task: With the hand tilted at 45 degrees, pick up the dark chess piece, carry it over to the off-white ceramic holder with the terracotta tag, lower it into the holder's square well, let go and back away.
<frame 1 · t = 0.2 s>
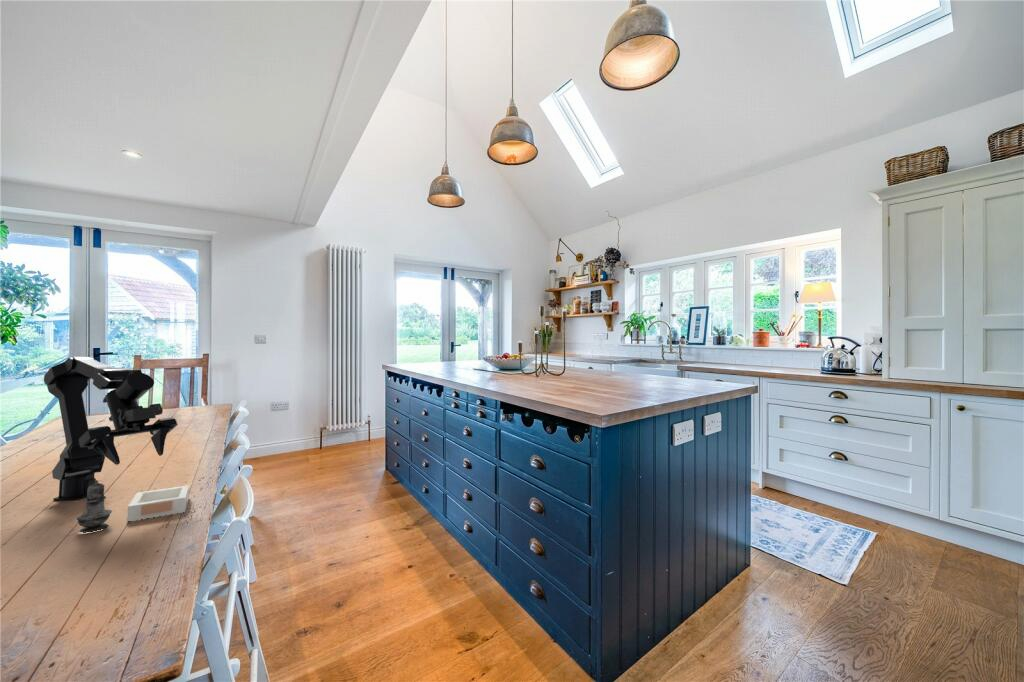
hand: (140, 459, 102), 15 cm above the table, tool tilted 35°, fingers open, 9 cm apart
dark chess piece: (93, 530, 93), on the table
tagged holder: (160, 509, 104), on the table
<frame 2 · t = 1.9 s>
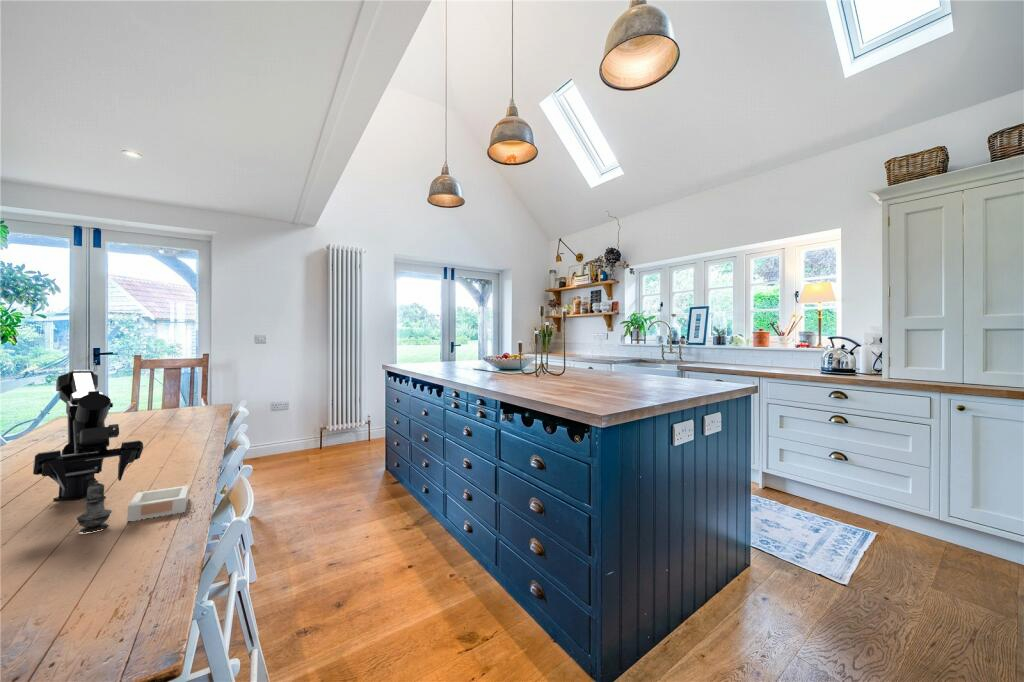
hand: (93, 484, 95), 10 cm above the table, tool tilted 45°, fingers open, 9 cm apart
nothing on the table moved.
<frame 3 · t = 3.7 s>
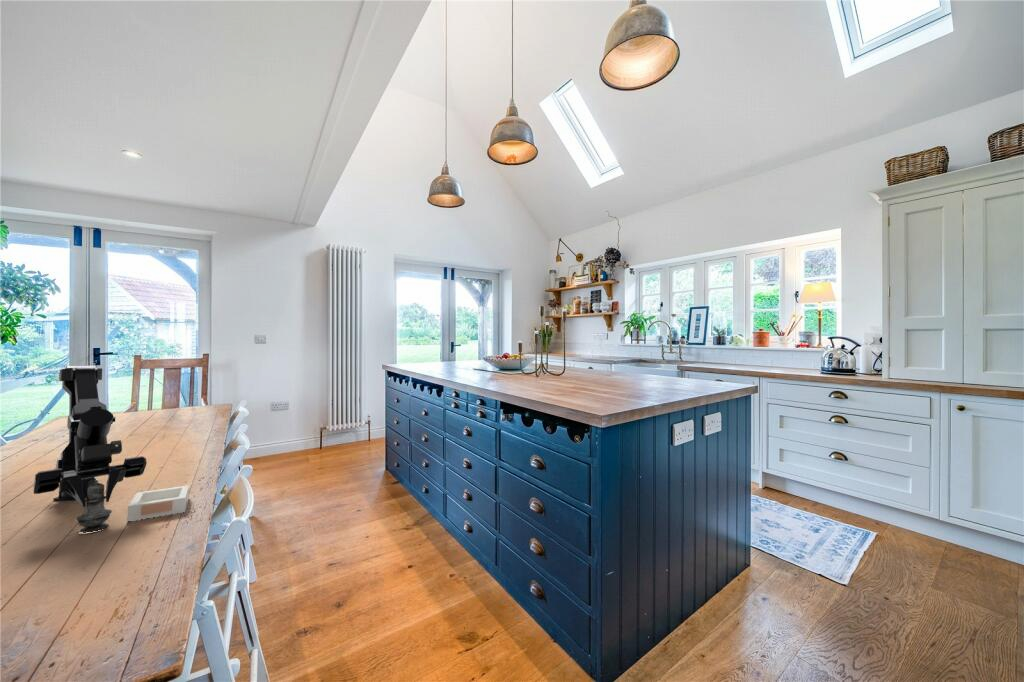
hand: (96, 503, 92), 7 cm above the table, tool tilted 45°, fingers closed on dark chess piece, 4 cm apart
dark chess piece: (93, 530, 93), on the table, touching gripper
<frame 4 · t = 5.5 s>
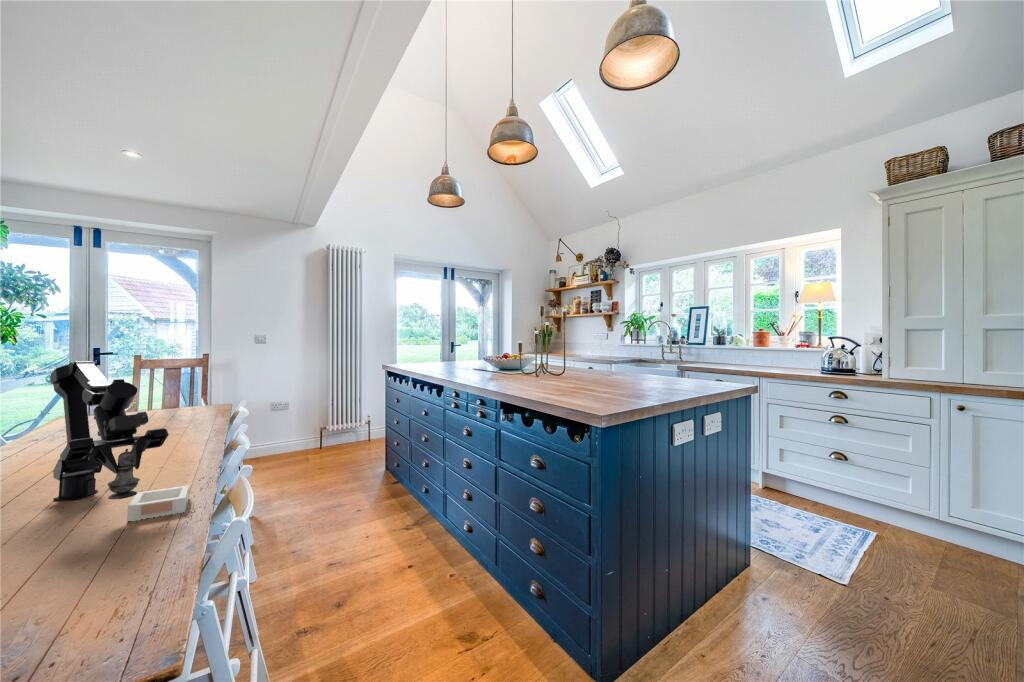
hand: (127, 470, 97), 13 cm above the table, tool tilted 45°, fingers closed on dark chess piece, 4 cm apart
dark chess piece: (122, 496, 97), point 6 cm above the table, touching gripper
when the fingers open (9 cm above the table, at t = 7.5 s): dark chess piece drops 1 cm, resting on tagged holder.
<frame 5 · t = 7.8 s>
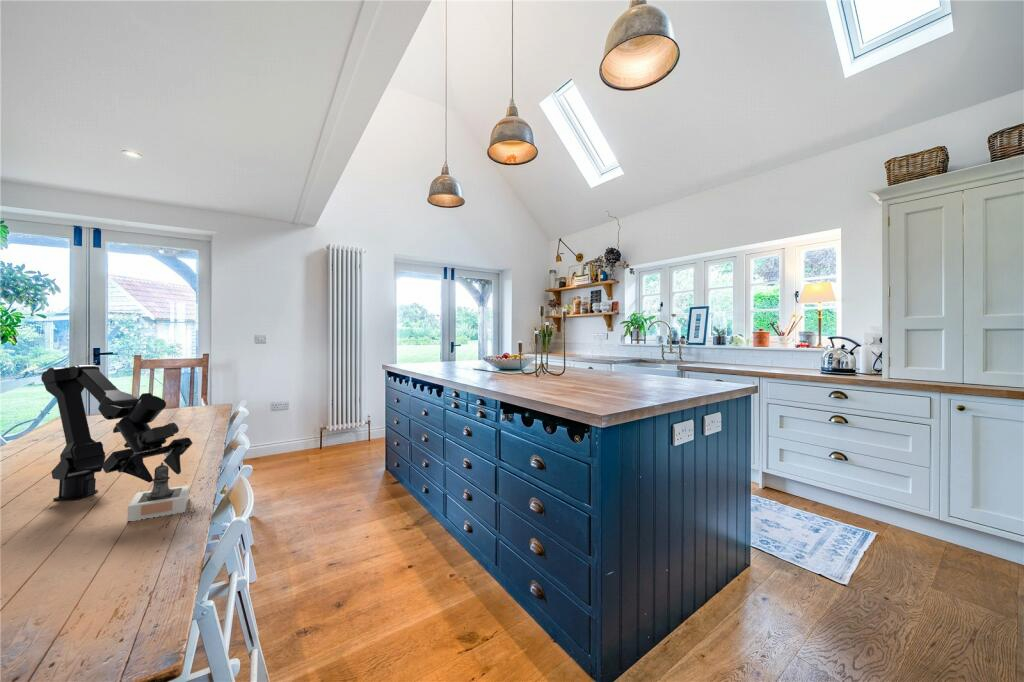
hand: (165, 477, 104), 9 cm above the table, tool tilted 45°, fingers open, 7 cm apart
dark chess piece: (159, 506, 104), point 1 cm above the table, touching tagged holder
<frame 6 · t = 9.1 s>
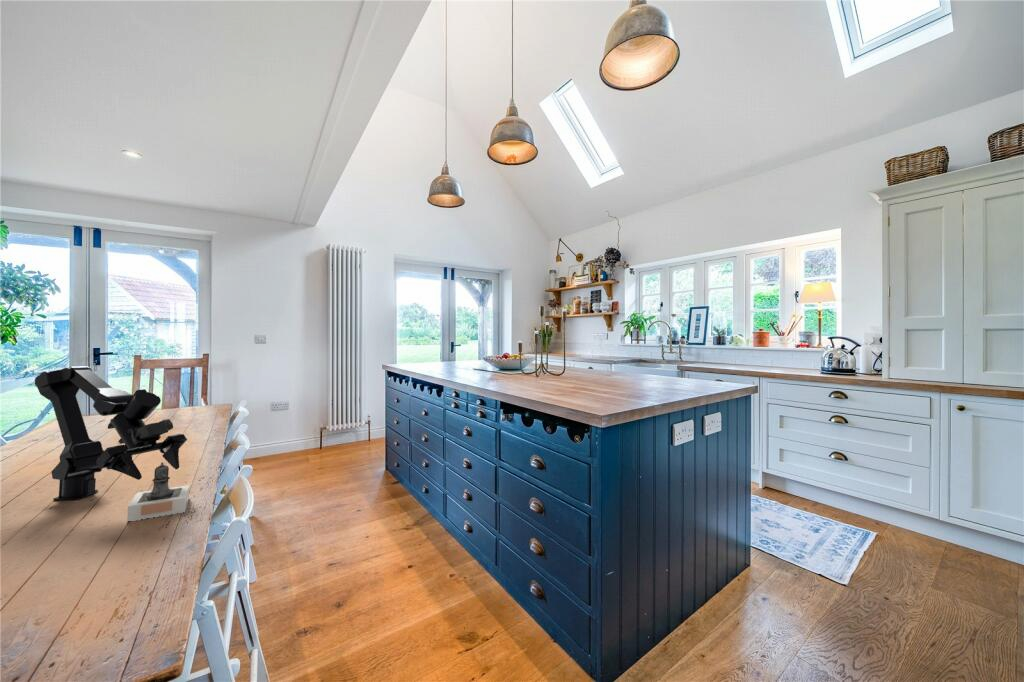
hand: (159, 473, 105), 10 cm above the table, tool tilted 45°, fingers open, 9 cm apart
nothing on the table moved.
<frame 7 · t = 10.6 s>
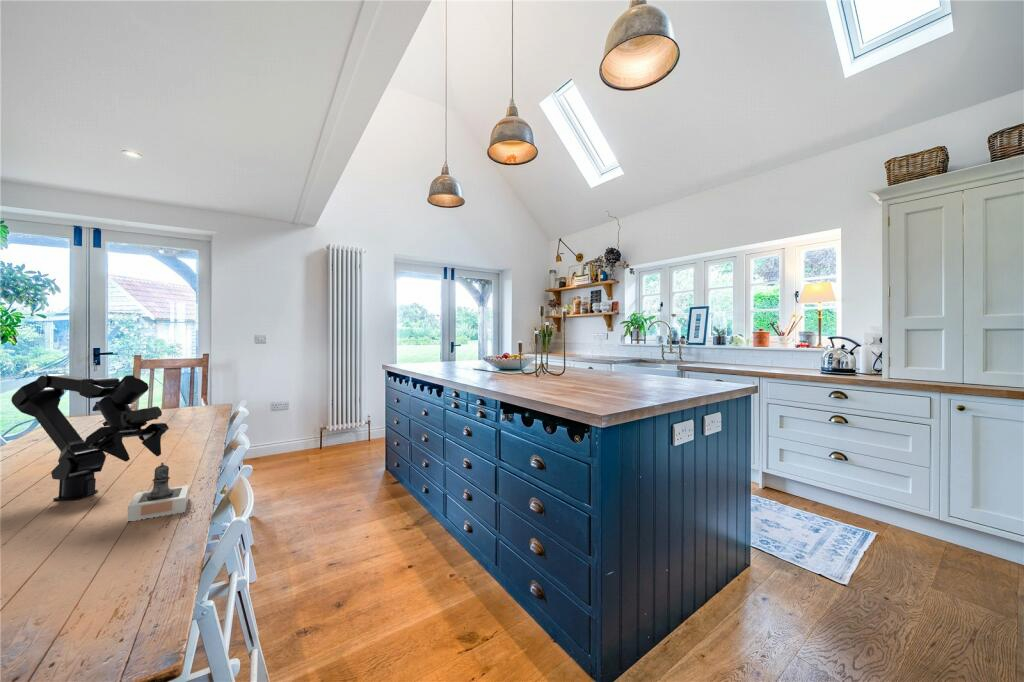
hand: (144, 457, 108), 13 cm above the table, tool tilted 40°, fingers open, 9 cm apart
nothing on the table moved.
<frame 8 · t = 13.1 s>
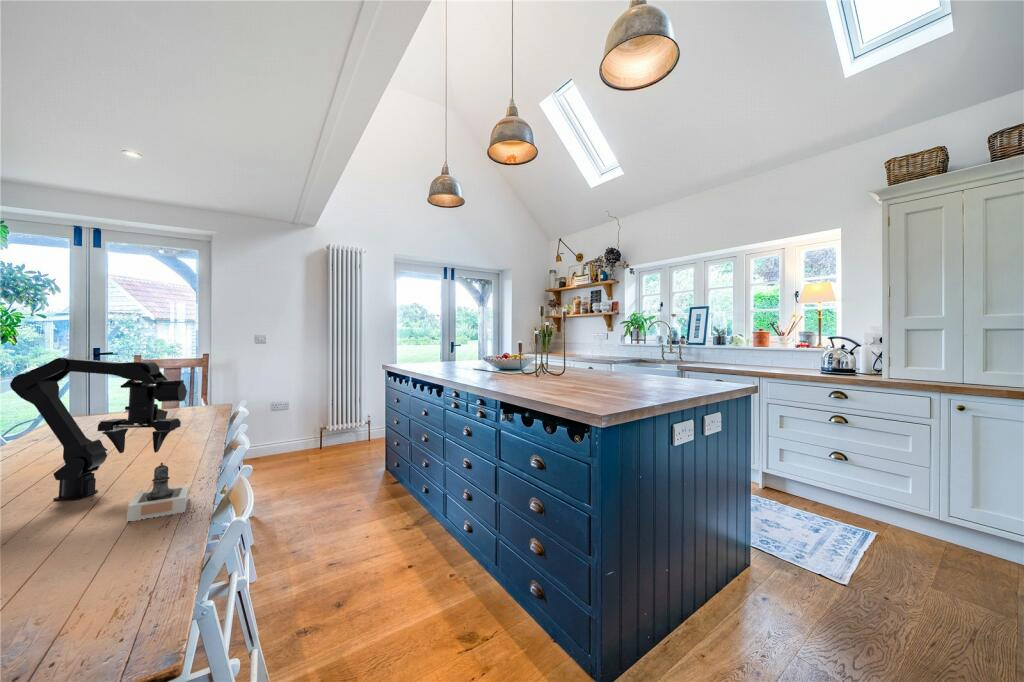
hand: (139, 452, 117), 12 cm above the table, tool pointing down, fingers open, 9 cm apart
nothing on the table moved.
at the end: dark chess piece 0.2 cm off-centre on the tagged holder, point 0.8 cm above the tagged holder's base; dark chess piece tilted 0°; the gripper is holding nothing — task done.
